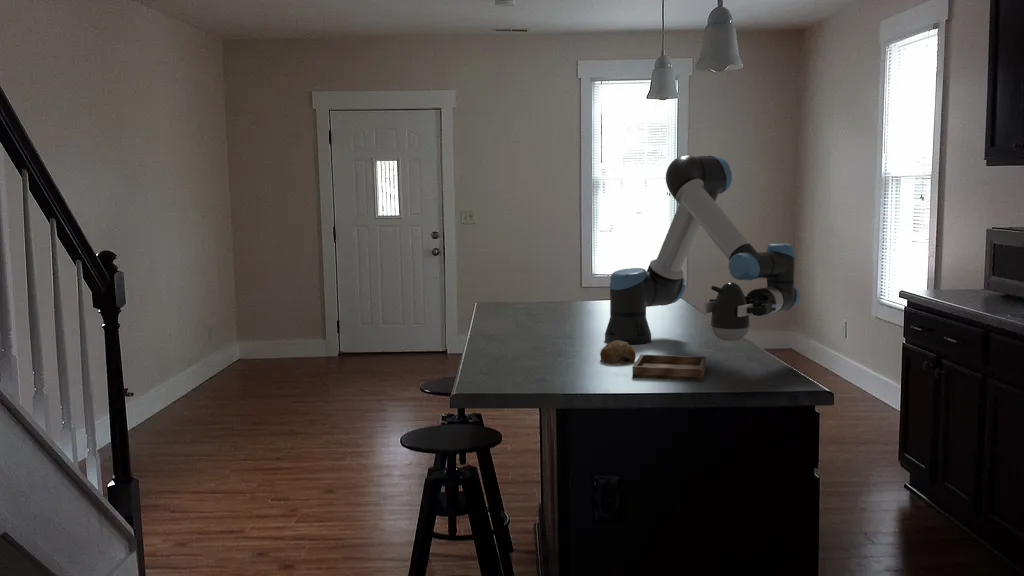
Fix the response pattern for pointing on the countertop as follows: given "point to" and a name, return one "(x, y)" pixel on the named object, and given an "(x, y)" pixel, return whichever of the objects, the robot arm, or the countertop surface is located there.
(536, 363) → the countertop surface
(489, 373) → the countertop surface
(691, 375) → the walnut tray
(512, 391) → the countertop surface
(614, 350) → the bread roll
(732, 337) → the pump dispenser
